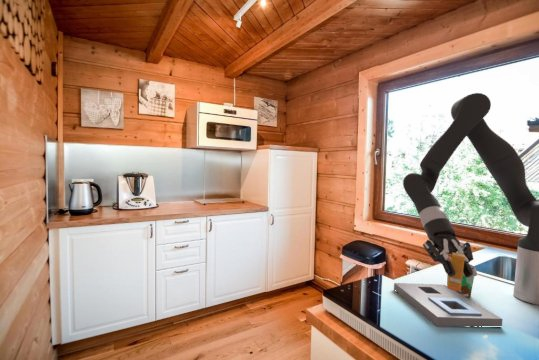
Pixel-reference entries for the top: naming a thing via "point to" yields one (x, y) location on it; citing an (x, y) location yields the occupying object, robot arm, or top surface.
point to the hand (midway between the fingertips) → (461, 275)
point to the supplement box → (458, 266)
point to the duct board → (446, 306)
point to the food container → (466, 283)
